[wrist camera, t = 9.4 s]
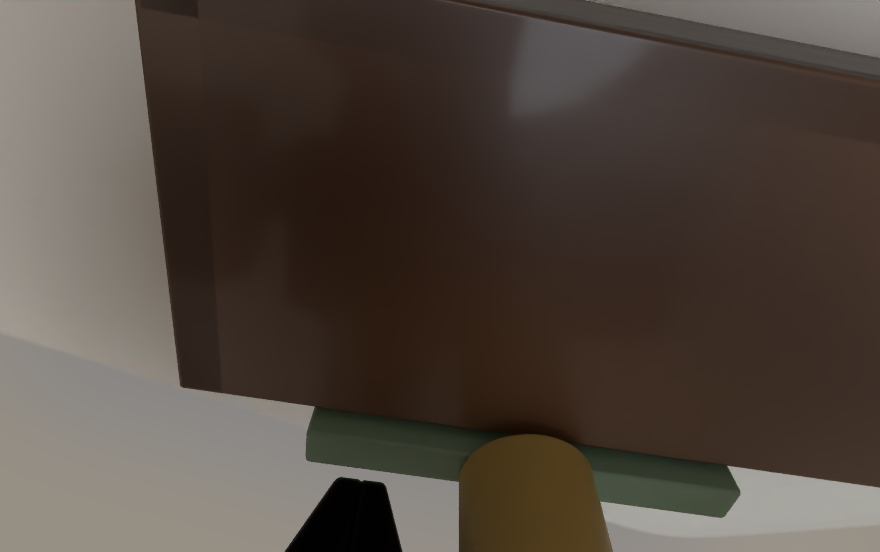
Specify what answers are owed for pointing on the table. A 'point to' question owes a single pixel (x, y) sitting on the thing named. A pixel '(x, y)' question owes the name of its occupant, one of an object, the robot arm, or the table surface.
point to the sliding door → (521, 479)
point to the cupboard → (526, 222)
